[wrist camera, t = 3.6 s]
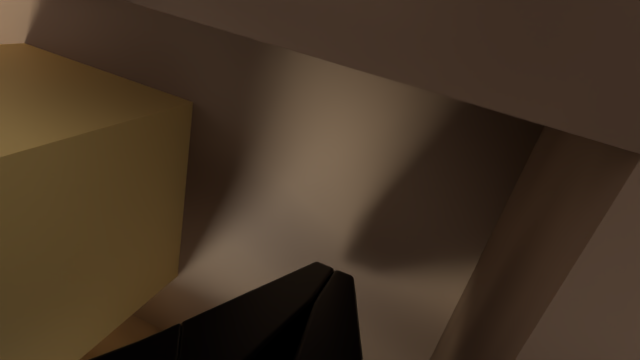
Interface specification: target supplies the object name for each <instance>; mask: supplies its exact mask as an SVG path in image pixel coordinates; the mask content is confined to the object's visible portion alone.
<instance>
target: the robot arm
mask: <svg viewBox="0 0 640 360" xmlns="http://www.w3.org/2000/svg"><path fill="white" fill-rule="evenodd" d="M87 360H363V355H362V346H361V337H360V328H359V318H358V309H357V300H356V291H355V282H354V278H353V276H351V275H349V274H347V273H344V272H342V271H339V270H335V271H334V269H333V268H332V267H330V266H327V265H325V264H323V263H320V262H313V263H311V264H309V265H307V266H305V267H302V268H300V269H298V270H296V271H293V272H291V273H289V274H287V275H285V276H282V277H280V278H278V279H276V280H273V281H271V282H269V283H267V284H265V285H262V286H260V287H258V288H256V289H253V290H251V291H249V292H247V293H245V294H242V295H240V296H238V297H236V298H233V299H231V300H229V301H227V302H225V303H222V304H220V305H218V306H216V307H214V308H211V309H209V310H207V311H205V312H202V313H200V314H198V315H196V316H194V317H191V318H189V319H187V320H185V321H183V322H182V325H181V324H180V323H178V324H175V325H173V326H171V327H169V328H167V329H164V330H162V331H160V332H157V333H155V334H153V335H150V336H148V337H146V338H143V339H141V340H138V341H136V342H134V343H131V344H129V345H126V346H123V347H121V348H118V349H115V350H112V351H110V352H107V353H104V354H102V355H99V356H96V357H93V358H90V359H87Z"/></svg>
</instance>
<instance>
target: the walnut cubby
mask: <svg viewBox="0 0 640 360" xmlns="http://www.w3.org/2000/svg"><path fill="white" fill-rule="evenodd" d="M18 43H25V44H28V45H31V46H34V47H37V48H39V49H42V50H45V51H48V52H51V53H54V54H57V55H59V56H62V57H65V58H68V59H71V60H74V61H77V62H80V63H82V64H85V65H88V66H91V67H94V68H97V69H100V70H102V71H105V72H108V73H111V74H114V75H117V76H120V77H122V78H125V79H128V80H131V81H134V82H137V83H140V84H142V85H145V86H148V87H151V88H154V89H157V90H160V91H162V92H165V93H168V94H171V95H174V96H177V97H180V98H182V99H185V100H188V101H191V102H193V109H192V120H191V131H190V143H189V154H188V165H187V177H186V188H185V199H184V211H183V222H182V233H181V244H180V256H179V267H178V276H177V277H176V278H175V279H174V280H172V281H171V282H170V283H169V284H168V285H166V286H165V287H164V288H163V289H162V290H161V291H159V292H158V293H157V294H156V295H155V296H154V297H152V298H151V299H150V300H149V301H148V302H147V303H145V304H144V305H143V306H142V307H141V308H139V309H138V310H137V311H136V312H135V313H134V314H132V315H131V316H130V317H129V318H128V319H127V320H125V321H124V322H123V323H122V324H121V325H119V326H118V327H117V328H116V329H115V330H114V331H112V332H111V333H110V334H109V335H108V336H107V337H105V338H104V339H103V340H102V341H101V342H100V343H98V344H97V345H96V346H95V347H94V348H92V349H91V350H90V351H89V352H88V353H87V354H85V355H84V356H83V357H82V358H81V359H80V360H87V359H90V358H93V357H96V356H99V355H102V354H104V353H107V352H110V351H112V350H115V349H118V348H121V347H123V346H126V345H129V344H131V343H134V342H136V341H138V340H141V339H143V338H146V337H148V336H150V335H153V334H155V333H157V332H160V331H162V330H164V329H167V328H169V327H171V326H173V325H175V324H178V323H180V324H181V325H182V322H183V321H185V320H187V319H189V318H191V317H194V316H196V315H198V314H200V313H202V312H205V311H207V310H209V309H211V308H214V307H216V306H218V305H220V304H222V303H225V302H227V301H229V300H231V299H233V298H236V297H238V296H240V295H242V294H245V293H247V292H249V291H251V290H253V289H256V288H258V287H260V286H262V285H265V284H267V283H269V282H271V281H273V280H276V279H278V278H280V277H282V276H285V275H287V274H289V273H291V272H293V271H296V270H298V269H300V268H302V267H305V266H307V265H309V264H311V263H313V262H320V263H323V264H325V265H327V266H330V267H332V268H333V269H334V271H335V270H339V271H342V272H344V273H347V274H349V275H351V276H353V278H354V282H355V291H356V300H357V309H358V318H359V328H360V337H361V346H362V355H363V360H640V0H0V44H18Z"/></svg>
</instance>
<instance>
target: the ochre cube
mask: <svg viewBox="0 0 640 360" xmlns="http://www.w3.org/2000/svg"><path fill="white" fill-rule="evenodd" d="M192 109H193V102H191V101H188V100H185V99H182V98H180V97H177V96H174V95H171V94H168V93H165V92H162V91H160V90H157V89H154V88H151V87H148V86H145V85H142V84H140V83H137V82H134V81H131V80H128V79H125V78H122V77H120V76H117V75H114V74H111V73H108V72H105V71H102V70H100V69H97V68H94V67H91V66H88V65H85V64H82V63H80V62H77V61H74V60H71V59H68V58H65V57H62V56H59V55H57V54H54V53H51V52H48V51H45V50H42V49H39V48H37V47H34V46H31V45H28V44H25V43H18V44H0V360H80V359H81V358H82V357H83V356H84V355H85V354H87V353H88V352H89V351H90V350H91V349H92V348H94V347H95V346H96V345H97V344H98V343H100V342H101V341H102V340H103V339H104V338H105V337H107V336H108V335H109V334H110V333H111V332H112V331H114V330H115V329H116V328H117V327H118V326H119V325H121V324H122V323H123V322H124V321H125V320H127V319H128V318H129V317H130V316H131V315H132V314H134V313H135V312H136V311H137V310H138V309H139V308H141V307H142V306H143V305H144V304H145V303H147V302H148V301H149V300H150V299H151V298H152V297H154V296H155V295H156V294H157V293H158V292H159V291H161V290H162V289H163V288H164V287H165V286H166V285H168V284H169V283H170V282H171V281H172V280H174V279H175V278H176V277H177V276H178V267H179V256H180V244H181V233H182V222H183V211H184V199H185V188H186V177H187V165H188V154H189V143H190V131H191V120H192Z"/></svg>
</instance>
